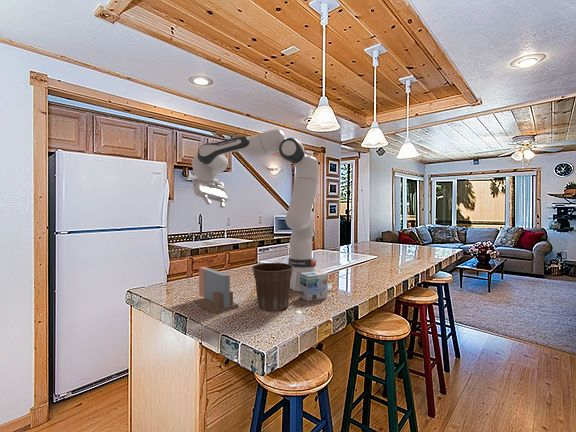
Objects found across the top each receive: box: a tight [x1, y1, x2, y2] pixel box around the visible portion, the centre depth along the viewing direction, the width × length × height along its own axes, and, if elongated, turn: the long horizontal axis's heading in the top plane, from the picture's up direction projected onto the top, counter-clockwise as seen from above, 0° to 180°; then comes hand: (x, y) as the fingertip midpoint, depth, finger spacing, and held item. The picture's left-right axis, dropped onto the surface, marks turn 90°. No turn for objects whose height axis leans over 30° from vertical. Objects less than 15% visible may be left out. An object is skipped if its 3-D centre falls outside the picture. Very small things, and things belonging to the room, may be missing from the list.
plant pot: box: [251, 262, 293, 312], centre depth 129 cm, size 16×16×16 cm
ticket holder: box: [195, 268, 239, 315], centre depth 130 cm, size 16×10×14 cm, turn 41°
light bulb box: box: [299, 270, 329, 302], centre depth 142 cm, size 11×7×11 cm, turn 117°
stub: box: [198, 266, 211, 298], centre depth 138 cm, size 5×2×12 cm, turn 41°
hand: (216, 205), depth 158 cm, fingers open, 8 cm apart
